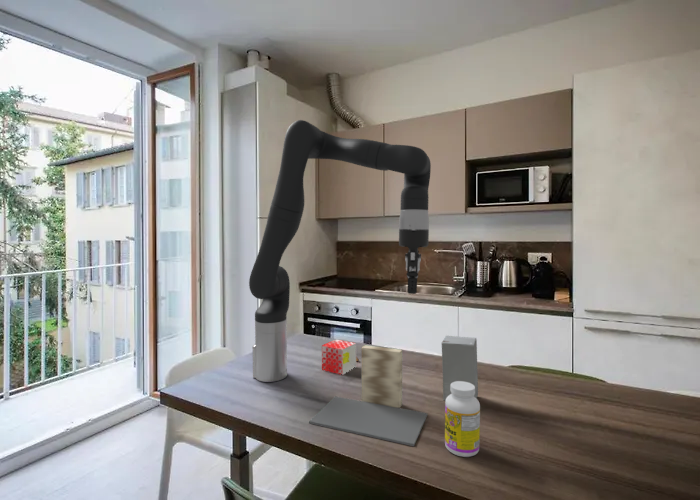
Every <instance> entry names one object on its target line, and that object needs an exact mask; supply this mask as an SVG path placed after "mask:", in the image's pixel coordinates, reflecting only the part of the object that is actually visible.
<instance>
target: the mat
mask: <svg viewBox="0 0 700 500" xmlns="http://www.w3.org/2000/svg"><path fill="white" fill-rule="evenodd" d="M428 416H429V415H428V412H425V411H424V412H423V411H419V410H418V411H417V410H413V409H407V408H402V407H400V408H397V407H391V406H386V405H380V404H375V403H369V402H364V401H362V400H357V399H352V398H347V397H341V396H336V395H335V396H334V397H332V399H331V400H330V401H329V402H328V403H327V404H325V405H324V407H322V408H321V409H320V410H319V411H318V412H317V413H316V414H315V415H314V416H313V417H312V418H311V419H310V420H309V422H308V423H309V424H311V425H316V426H320V427H325V428H329V429H334V430H338V431H341V432H342V431H343V432H347V433H351V434H356V435H361V436H364V437H365V436H366V437H369V438H374V439H379V440H383V441H387V442H392V443H397V444H401V445H406V446H409V447H415V445H416V443H417V440H418V438H419V436H420V434H421V432H422V428H424V424H425V422H426V420H427V418H428Z"/></svg>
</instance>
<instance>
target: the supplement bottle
mask: <svg viewBox="0 0 700 500" xmlns="http://www.w3.org/2000/svg"><path fill="white" fill-rule="evenodd" d="M450 391H451V393H452V394H450V395H449V396H448V397H447V398H446V401H445V402H444V405H445V409H444V410H445V411H444V444H445V448H446V449H447V450H448V452H450V453H451V454H453V455H455V456H458V457H461V458H462V457H464V458H470V457H473V456H476V455H477V454H478V453H479V451H480V438H481V437H480V436H481V435H480V432H481V431H480V430H481V429H480V427H481V420H480V419H481V404H480V402H479V399H478V398H477V399H476V398H475V397H474V395H475V386H474V385H473V384H471V383H468V382H464V381H456V382H453V383H451V385H450Z"/></svg>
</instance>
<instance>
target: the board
mask: <svg viewBox="0 0 700 500" xmlns="http://www.w3.org/2000/svg"><path fill="white" fill-rule="evenodd" d="M361 401H364V402H369V403H375V404H380V405H386V406H391V407H397V408H402V406H403V349H400V348H392V347H384V346H377V345H369V344H368V345H367V344H364V345H363V346H362V347H361Z"/></svg>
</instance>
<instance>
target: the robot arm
mask: <svg viewBox="0 0 700 500" xmlns="http://www.w3.org/2000/svg"><path fill="white" fill-rule="evenodd" d="M284 136H285V137H284V140H283V147H282V154H281V162H280V168H279V172H278V175H277V179H276V180H277V181H276V184H275V189H274V193H273V196H272V200H271V204H270V207H269V212H268V215H267V220H266V224H265V229H264V232H263V236H262V240H261V243H260V247H259V250H258V253H257V256H256V259H255V260H254V261H255V262H254V264H253V267H252V269H251V271H250V276H249V280H248V284H249V285H248V286H249V291H250V293H251V295H253V297H254V298H256V299H258V300H262V302H261V304H260V306H259V307H258V308H257V309H256V310H255V313H254V330H255V331H254V333H255V334H254V335H255V337H254V339H255V340H254V341H255V343H254V345H252V378H254V379H256V380H257V381H259V382H266V383H270V382H278V381H279V382H280V381H282V380H283V379H286V377H288V352H287V351H288V348H287V347H288V341H287V338H288V337H287V336H288V335H287V334H288V333H287V331H288V330H287V329H288V327H287V325H288V323H287V322H288V321H287V314H288V311H289V308H290V295H291V294H290V293H291V292H290V291H291V288H290V287H291V286H290V285H291V283H290V276H289V273H288V272H287V270H286V269H285V268H284V267H282V266H281V265H280V263H281V260H282V258H283V255H284V252H285V251H286V249H287V247H288V246H289V245H290V244H291V242H292V240H293V239H294V237H295V235H296V234H297V232H298V229H299V227H300V225H301V223H302V218H303V214H304V209H305V187H304V176H305V171H306V168H307V163H308V160H310V159H311V160H312V159H313V160H315V159H316V160H317V159H318V160H332V161H333V160H334V161H341V162H345V163H348V164H349V163H350V164H354V165H357V166H361V167H365V168H369V169H373V170H376V171H377V170H378V171H384V172H385V171H392V172H396V173H401V174H404V178H403V179H404V180H403V188H402V190H401V192H400V212H399V213H400V214H399V221H398V222H399V223H398V246H399V247H405V248H408V251H407V253H406V252H405V254H404V256H405V258H404V259H405V271H406V277H407V293H408V294H410V295H416V294H417V292H418V291H417V289H418V277H419V272H420V271H421V269H420V268H421V267H420V266H421V262H422V261H421V260H422V254H421V253H420V250H419V248H427V247H428V246H429V240H430V239H429V235H430V234H429V233H430V216H429V215H430V214H429V186H430V179H431V171H432V170H431V169H432V168H431V167H432V166H431V165H432V164H431V160H430V157H429V156H428V155H427V153H426V151H424V150H423V148H420V147H417V146H413V145H408V144H407V145H406V144H391V143H387V142H382V141H377V140H371V139H365V138H346V137H345V138H344V137H339V136H336V135H332V134H331V133H328V132H325V131H323V130H320V129H319V128H318V127H317V126H316V125H313V124H312V123H310V122H309V121H306V120H303V119H298V120H296V121H293V122H292V123H291V124H290V125H289V126H288V128H287V130H286V132H285V135H284Z"/></svg>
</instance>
